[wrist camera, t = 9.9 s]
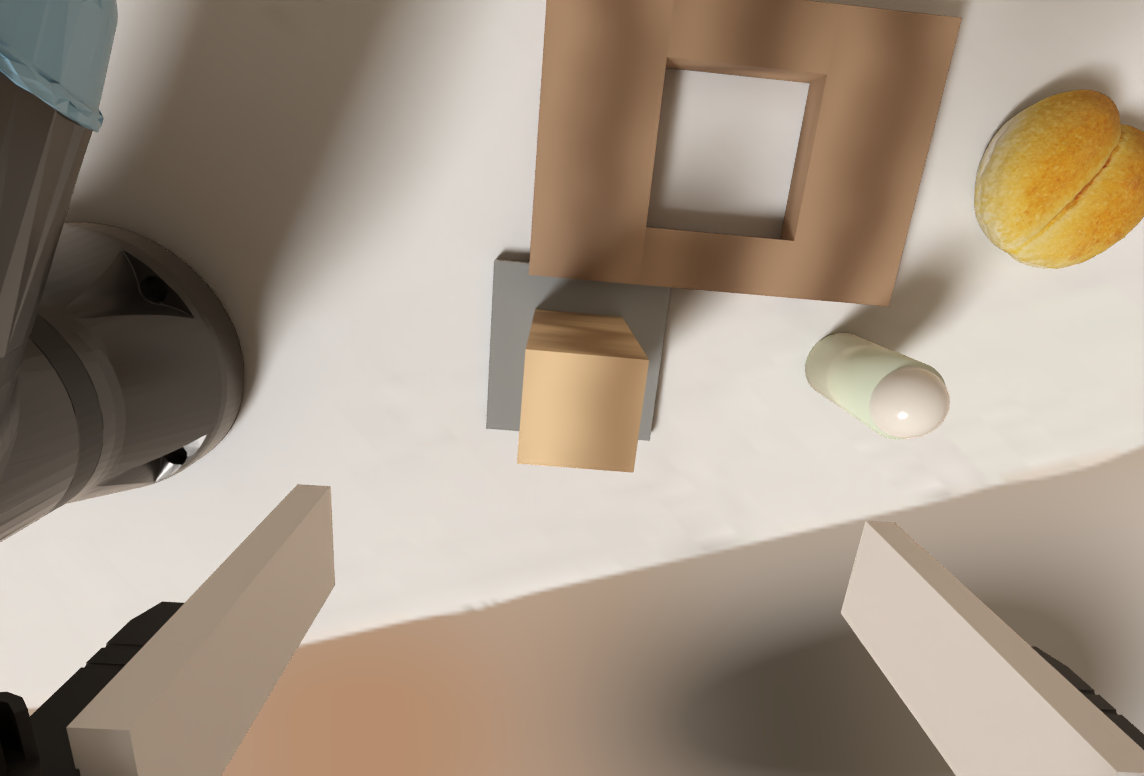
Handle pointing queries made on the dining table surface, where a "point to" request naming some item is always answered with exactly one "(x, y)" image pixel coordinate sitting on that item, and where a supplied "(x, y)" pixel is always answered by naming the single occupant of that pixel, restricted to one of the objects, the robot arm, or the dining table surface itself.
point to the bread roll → (1061, 181)
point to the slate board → (529, 292)
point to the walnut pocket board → (823, 161)
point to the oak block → (581, 392)
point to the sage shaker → (878, 386)
